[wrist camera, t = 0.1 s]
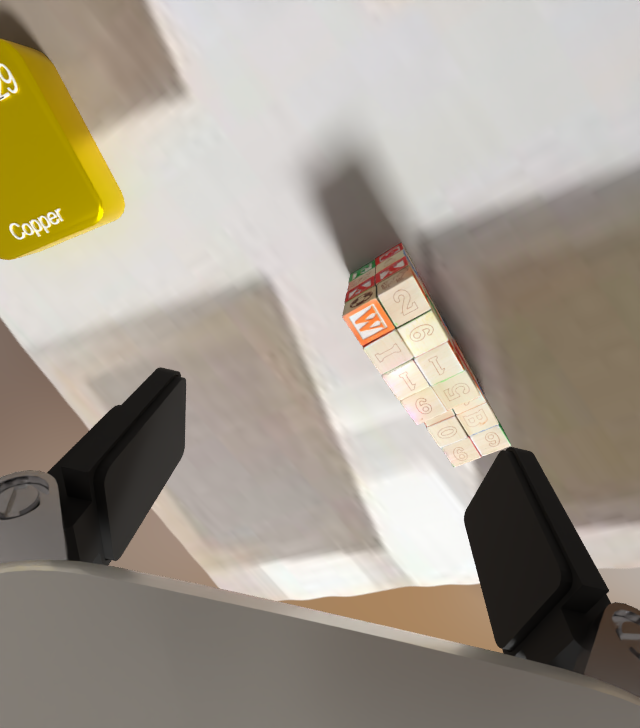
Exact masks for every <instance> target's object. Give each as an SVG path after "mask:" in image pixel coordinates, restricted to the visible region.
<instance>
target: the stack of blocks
mask: <svg viewBox="0 0 640 728" xmlns="http://www.w3.org/2000/svg"><path fill="white" fill-rule="evenodd" d="M342 318H343V319H344V321H345V322H346V324H347V325H348V327H349V328H350V329H351V331H352V332H353V334H354V335H355V337H356V338H357V340H358V341H359V343H360V344H361V345H362V346H363V350H364V351H365V353H366V354H367V356H368V357H369V358H370V360H371V361H372V363H373V364H374V365H375V367H376V368H377V370H378V371H379V372H380V374H382V378H383V379H384V381H385V382H386V384H387V385H388V386H389V388H390V389H391V391H392V392H393V393H394V395H395V396H396V398H397V399H398V400H400V402H401V404H402V405H403V407H404V408H405V410H406V411H407V412H408V414H409V415H410V417H411V418H412V419H413V421H414V422H415V424H416V425H418V424H421V423H423V422H424V423H425V425H426V428H427V429H428V431H429V433H430V434H431V436H432V437H433V439H434V440H435V442H436V443H437V445H438V446H439V447H440V448H442V450H443V452H444V453H445V455H446V456H447V458H448V459H449V461H450V462H451V464H452V465H453V467H457V466H459V465H462V464H465V463H467V462H470V461H473V460H476V459H478V458H481V456H485V455H488V454H490V453H493V452H496V451H498V450H501V449H504V448H506V447H509V446H511V444H510V442H509V440H508V438H507V436H506V434H505V432H504V430H503V428H502V426H501V424H500V423H499V421H498V419H497V417H496V416H495V414H494V412H493V410H492V408H491V406H490V404H489V402H488V401H487V399H486V397H485V395H484V393H483V391H482V389H481V388H480V386H479V383H478V381H477V380H476V378H475V376H474V374H473V372H472V370H471V369H470V367H469V365H468V363H467V361H466V360H465V358H464V356H463V354H462V352H461V350H460V349H459V347H458V345H457V343H456V341H455V339H454V338H453V337H452V335H451V334H450V332H449V330H448V328H447V326H446V325H445V323H444V321H443V319H442V317H441V316H440V314H439V312H438V310H437V308H436V307H435V305H434V303H433V301H432V299H431V298H430V295H429V293H428V291H427V289H426V287H425V285H424V283H423V282H422V280H421V278H420V276H419V274H418V272H417V271H416V268H415V266H414V264H413V263H412V261H411V259H410V257H409V255H408V253H407V251H406V250H405V248H404V246H403V244H402V243H400V244H398V245H397V246H395V247H393V248H392V249H390V250H389V251H387V252H385V253H384V254H382V255H381V256H379V257H377V258H376V259H375V260H373V261H372V262H370V263H369V264H367V265H365V266H364V267H362V268H360V269H359V270H357V271H355V272H354V273H352V274H351V275H350V278H349V286H348V291H347V293H346V298H345V306H344V311H343V315H342Z"/></svg>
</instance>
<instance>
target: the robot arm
mask: <svg viewBox="0 0 640 728" xmlns="http://www.w3.org/2000/svg"><path fill="white" fill-rule="evenodd" d="M185 410H186V379H185V378H182V377H181V374H180V372H178V371H174V370H170V369H165V368H161V367H160V368H158V369H156V370H155V371H154V372H153V373H152V374H151V375H150V376H149V377H148V378H147V379H146V380H145V381H144V382H143V383H142V384H141V386H140V387H139V388H138V389H137V390H136V391H135V392H134V393H133V394H132V395H131V396H130V397H129V398H128V399H127V400H126V401H125V402H124V403H123V404H122V405H117V406H115V407H113V408H112V409H111V410H110V411H109V412H108V413H107V414H106V415H105V416H104V417H103V418H102V419H101V420H100V421H99V422H98V423H97V424H96V425H95V426H94V427H93V428H92V429H91V430H90V431H89V432H88V433H87V434H86V435H85V436H84V437H83V438H82V439H81V440H80V441H79V442H78V443H77V444H76V445H75V446H74V447H72V449H71V450H70V451H68V453H67V454H66V455H65V456H64V457H62V459H60V461H58V463H57V464H56V465H54V466H53V467H52V468H51V469H50V471H48V472H47V473H45V472H42V471H33V470H27V471H21V472H15V473H12V474H9V475H6V476H3V477H1V478H0V728H640V610H638V609H636V608H634V607H632V606H629V605H627V604H624V603H616V602H615V603H612V604H611V602H610V600H609V599H608V597H607V595H606V594H607V593H608V592H609V589H608V588H607V586H606V584H605V582H604V580H603V579H602V577H601V575H600V573H599V571H598V569H597V568H596V566H595V564H594V562H593V560H592V559H591V557H590V555H589V553H588V551H587V550H586V548H585V546H584V544H583V542H582V541H581V539H580V537H579V535H578V533H577V532H576V530H575V528H574V526H573V524H572V522H571V521H570V519H569V517H568V515H567V513H566V512H565V510H564V508H563V506H562V504H561V503H560V501H559V499H558V497H557V495H556V494H555V492H554V490H553V488H552V486H551V484H550V483H549V481H548V479H547V477H546V475H545V474H544V472H543V470H542V468H541V466H540V465H539V463H538V461H537V459H536V457H535V456H534V454H533V453H532V452H530V451H527V450H522V449H518V448H514V447H509V448H507V449H506V451H504V450H502V451H500V453H499V454H498V456H497V457H496V459H495V461H494V463H493V464H492V466H491V468H490V469H489V471H488V473H487V475H486V476H485V478H484V480H483V482H482V483H481V485H480V487H479V488H478V490H477V492H476V494H475V495H474V497H473V499H472V500H471V502H470V504H469V506H468V507H467V509H466V511H465V515H464V523H465V527H466V531H467V535H468V539H469V543H470V546H471V550H472V554H473V558H474V562H475V565H476V569H477V573H478V577H479V581H480V585H481V588H482V592H483V596H484V599H485V603H486V607H487V611H488V615H489V619H490V623H491V626H492V630H493V634H494V638H495V641H496V644H497V645H498V647H499V648H502V649H503V653H504V654H503V653H499V652H494V651H490V650H486V649H482V648H478V647H473V646H469V645H465V644H461V643H456V642H452V641H448V640H443V639H439V638H435V637H431V636H426V635H422V634H418V633H413V632H409V631H405V630H400V629H396V628H392V627H387V626H383V625H379V624H374V623H370V622H365V621H361V620H357V619H352V618H348V617H344V616H339V615H335V614H330V613H326V612H321V611H317V610H313V609H308V608H303V607H299V606H295V605H291V604H286V603H282V602H277V601H273V600H268V599H264V598H259V597H255V596H250V595H246V594H241V593H237V592H232V591H228V590H223V589H219V588H214V587H209V586H205V585H200V584H196V583H191V582H187V581H182V580H178V579H173V578H168V577H163V576H158V575H153V574H148V573H143V572H138V571H133V570H128V569H123V568H119V567H114V566H108V565H109V563H110V562H111V560H114V561H117V560H118V559H119V558H120V557H121V556H122V554H123V552H124V551H125V549H126V547H127V546H128V544H129V542H130V541H131V539H132V538H133V536H134V535H135V533H136V531H137V529H138V528H139V526H140V525H141V523H142V521H143V520H144V518H145V517H146V515H147V513H148V512H149V510H150V508H151V507H152V505H153V504H154V502H155V500H156V499H157V497H158V495H159V494H160V492H161V491H162V489H163V487H164V486H165V484H166V482H167V481H168V479H169V477H170V476H171V474H172V473H173V471H174V469H175V468H176V466H177V464H178V463H179V461H180V460H181V458H182V455H183V452H184V448H185Z"/></svg>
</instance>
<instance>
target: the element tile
mask: <svg viewBox="0 0 640 728" xmlns="http://www.w3.org/2000/svg"><path fill="white" fill-rule="evenodd" d="M124 208H125V203H124V198H123V195H122V192H121V190H120V188H119V187H118V185H117V183H116V181H115V179H114V177H113V175H112V173H111V172H110V170H109V168H108V166H107V164H106V162H105V160H104V158H103V156H102V155H101V153H100V151H99V149H98V147H97V145H96V143H95V141H94V140H93V138H92V136H91V134H90V132H89V130H88V128H87V126H86V124H85V123H84V121H83V119H82V117H81V115H80V113H79V111H78V109H77V107H76V106H75V104H74V102H73V100H72V98H71V96H70V94H69V92H68V91H67V89H66V87H65V85H64V83H63V81H62V79H61V77H60V75H59V74H58V72H57V70H56V68H55V66H54V65H53V64H52V62H51V61H50V60H49V59H48V58H47V57H46V56H45V55H44V54H43V53H41V52H40V51H38V50H36V49H33V48H30V47H26V46H23V45H20V44H17V43H14V42H11V41H8V40H4V39H0V259H5V260H12V259H16V258H20V257H23V256H26V255H30V254H33V253H36V252H40V251H42V250H45V249H47V248H50V247H52V246H54V245H57V244H59V243H62V242H64V241H66V240H69V239H71V238H74V237H76V236H79V235H81V234H83V233H86V232H88V231H91V230H93V229H95V228H98V227H100V226H103V225H105V224H108V223H110V222H112V221H115V220H117V219H118V218H119V217H120V216H121V215H122V214H123V212H124Z"/></svg>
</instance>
